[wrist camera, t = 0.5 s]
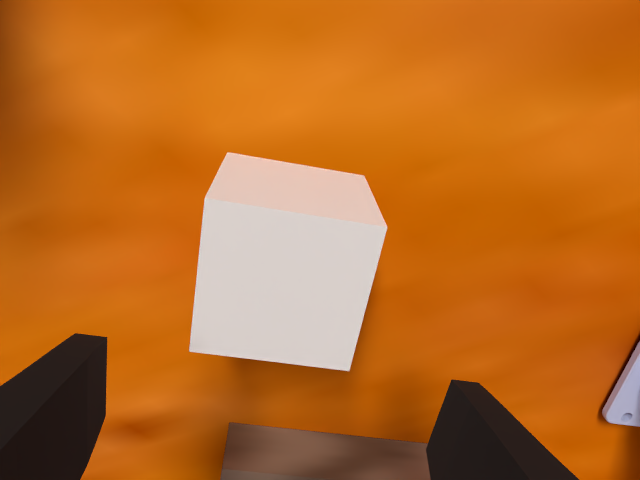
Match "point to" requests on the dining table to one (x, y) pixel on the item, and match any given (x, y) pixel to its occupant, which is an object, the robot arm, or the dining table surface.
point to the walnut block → (318, 456)
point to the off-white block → (285, 263)
